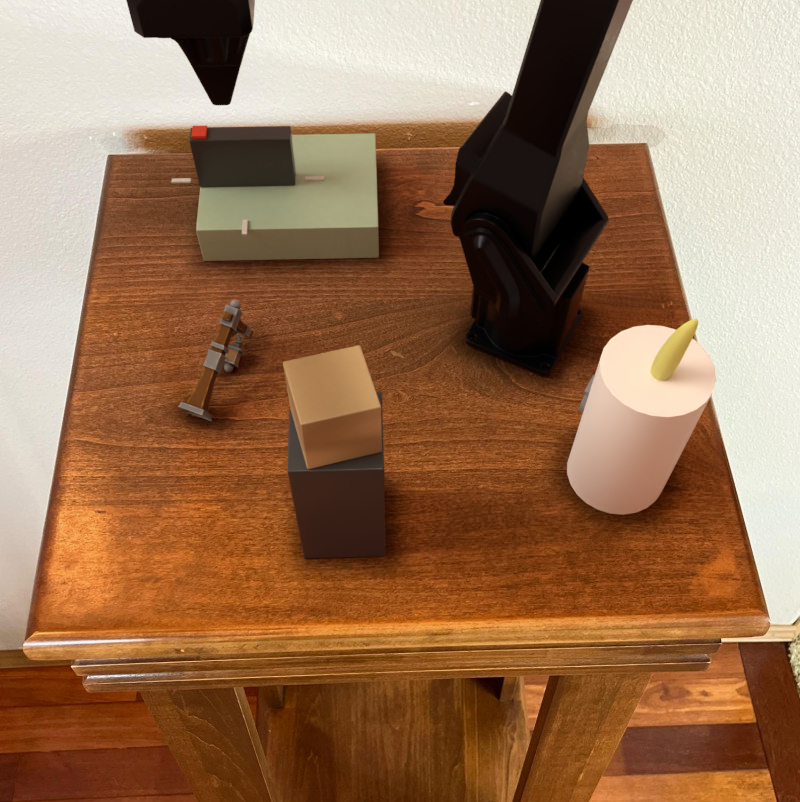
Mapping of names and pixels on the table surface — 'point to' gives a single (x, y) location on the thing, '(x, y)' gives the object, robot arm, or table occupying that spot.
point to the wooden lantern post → (218, 359)
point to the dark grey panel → (243, 156)
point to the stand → (338, 502)
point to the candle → (639, 416)
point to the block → (334, 406)
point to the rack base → (298, 207)
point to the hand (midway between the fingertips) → (225, 56)
